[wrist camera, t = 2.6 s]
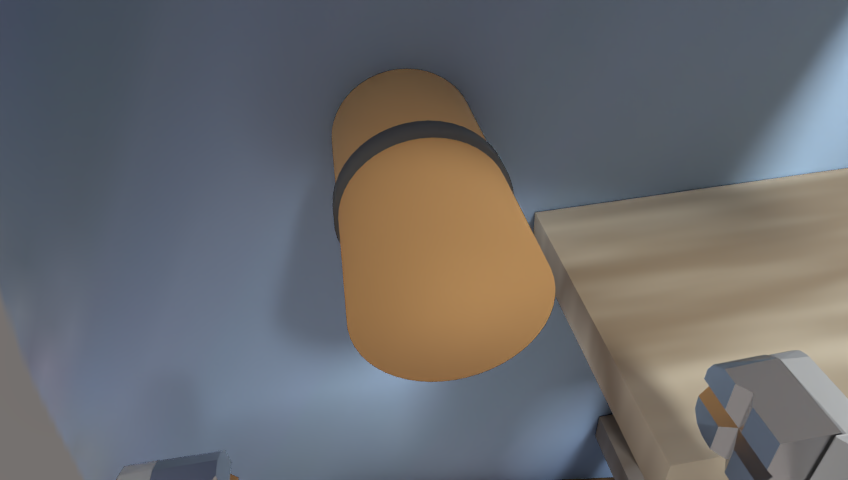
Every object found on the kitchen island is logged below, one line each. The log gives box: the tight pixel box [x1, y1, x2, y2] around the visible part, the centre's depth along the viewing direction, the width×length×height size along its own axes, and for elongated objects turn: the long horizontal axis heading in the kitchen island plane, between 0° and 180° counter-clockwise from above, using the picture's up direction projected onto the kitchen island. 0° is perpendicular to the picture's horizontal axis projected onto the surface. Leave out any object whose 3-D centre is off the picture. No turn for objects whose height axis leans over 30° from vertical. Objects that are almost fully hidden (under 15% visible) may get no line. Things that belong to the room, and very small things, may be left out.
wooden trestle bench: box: [533, 168, 848, 480], centre depth 21 cm, size 14×18×9 cm
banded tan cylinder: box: [332, 69, 555, 382], centre depth 14 cm, size 4×4×7 cm
